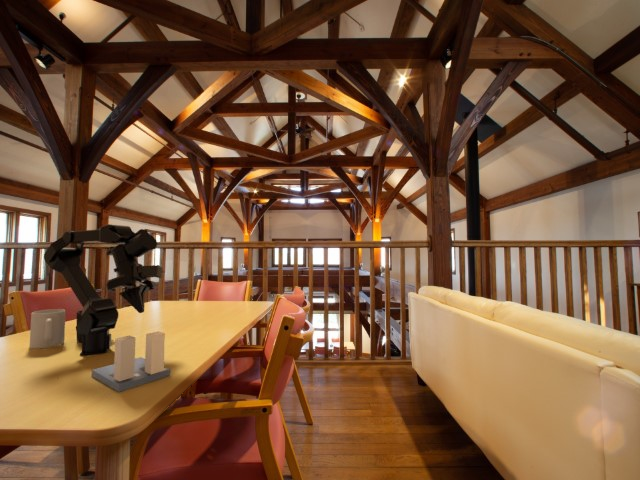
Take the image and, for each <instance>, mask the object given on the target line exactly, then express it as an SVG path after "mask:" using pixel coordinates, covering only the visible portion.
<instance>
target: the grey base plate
mask: <svg viewBox="0 0 640 480" xmlns="http://www.w3.org/2000/svg"><path fill="white" fill-rule="evenodd" d="M169 376H171V369H170V368H169V367H166V366H164V371H161V372H158V373H155V374H149V373H147V372H145V357H141V356H140V357H137V358H136V357H135V365H134V377H133V378H129V379H126V380H123V381H118V380H116V379H114V363H113V364H109V365H106V366H101V367H97V368H94V369H91V377H92V378H94V379H96V380H97V381H99V382H100V383H102V384H104V385H106V386H108V387H109V388H111V389H113V390H114V391H116V392H117V393H120V392H123V391H124V392H125V391H127V390H130V389H134V388H135V387H138V386H142V385H145V384H149V383H150V382H154V381H157V380H160V379H163V378H165V377H169Z"/></svg>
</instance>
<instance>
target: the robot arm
mask: <svg viewBox="0 0 640 480" xmlns="http://www.w3.org/2000/svg"><path fill="white" fill-rule="evenodd" d="M86 243H104V244H112V245H113V244H115V246H110V247H109V249H108V250H107V251H106V256H112V258H113V261H114V264H115V268H114V269H113V272H114V273H117V274H118V275H117V277H114V278H113V277H112V278H111V279H108V280H107V281H106V282H105V288H106V292H111V293H112V292H115V291H116V289H117V288H120V287H121V288H123V291H122V292H119V293H118V295H119V296H121V297H122V298H123V299H125V301H126V302H128V304H129V305H130V306H131V307H133V309H135V311H137V312H138V313H139V314H142V313H144V312H145V301H146V300H145V297H146V293H147V292H149V291H152V290H155V289H157V288H158V286H157V283H156V282H155V281H154V280H150V279H148V278H157V279H160V278H162V274H163V273H164V270H163V266H160V265H158V264H157V265H154V264H153V265H143V264H141V263H139V262H138V261H139V260H138V258H140V257H143V256H144V255H146V254H148V253H150V252H151V251H153V250H155V249H156V248H157V245H158V243H157V239H156V238H155V237H154V236H153V235H152V234H151V233H149V232H148V230H147V229H144V228H141V229H139V230H138V231H136V232H134V231H133V230H132V228H131V227H130V226H129V225H122V224H121V225H118V224H112V223H111V224H108V223H107V224H105V225H103V226H100V227H99V228H97V229H85V230H74V231H73V230H68V231H65V232H64V234H63V235H62V236H61V237H59V238H58V239H57V240H55V241H53V242H51V243H50V245H49V246H48V248H47V249H46V251H45V252H44V254H43V259H44V262H45V263H46V264H47V265H48V266H49V268H50V269H51V270H53V271H55V272H58V273H60V274H61V275H62V276H63V278H64V279H65V281H66V283H67V284H68V286H69V287H70V289H71V290H72V292H73V294H74V295H75V297H76V299H78V302H79V303H80V304H81V306H82V309H81V310H82V314H81V317H82V320H81V321H80V322H79V323H78V325H77V324H76V326H75V331H76V335H77V334H83V335H82V343H81V351H80V353H79V356H85V355H86V356H87V355H96V354H105V353H107V352H108V350H109V349H110V348H111V347H112V333H110V330H112V329H115V328H116V325H117V322H118V319H119V311H118V309H117V308H118V306H117V305H115V303H114V302H113V299H111V298H110V297H108V298H102V297H101V296H100V295H99V293H98V292H97V290H96V289H95V287H94V285H93V284H92V282H91V281H90V279H89V278H88V276H87V275H86V273H85V272H84V270H83V268H82V267H81V262H82V257H81V256H82V255H83V253H84V252H85V251H84V244H86ZM70 244H76V246H75V247H68V246H69V245H70ZM116 244H117V245H116Z"/></svg>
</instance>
